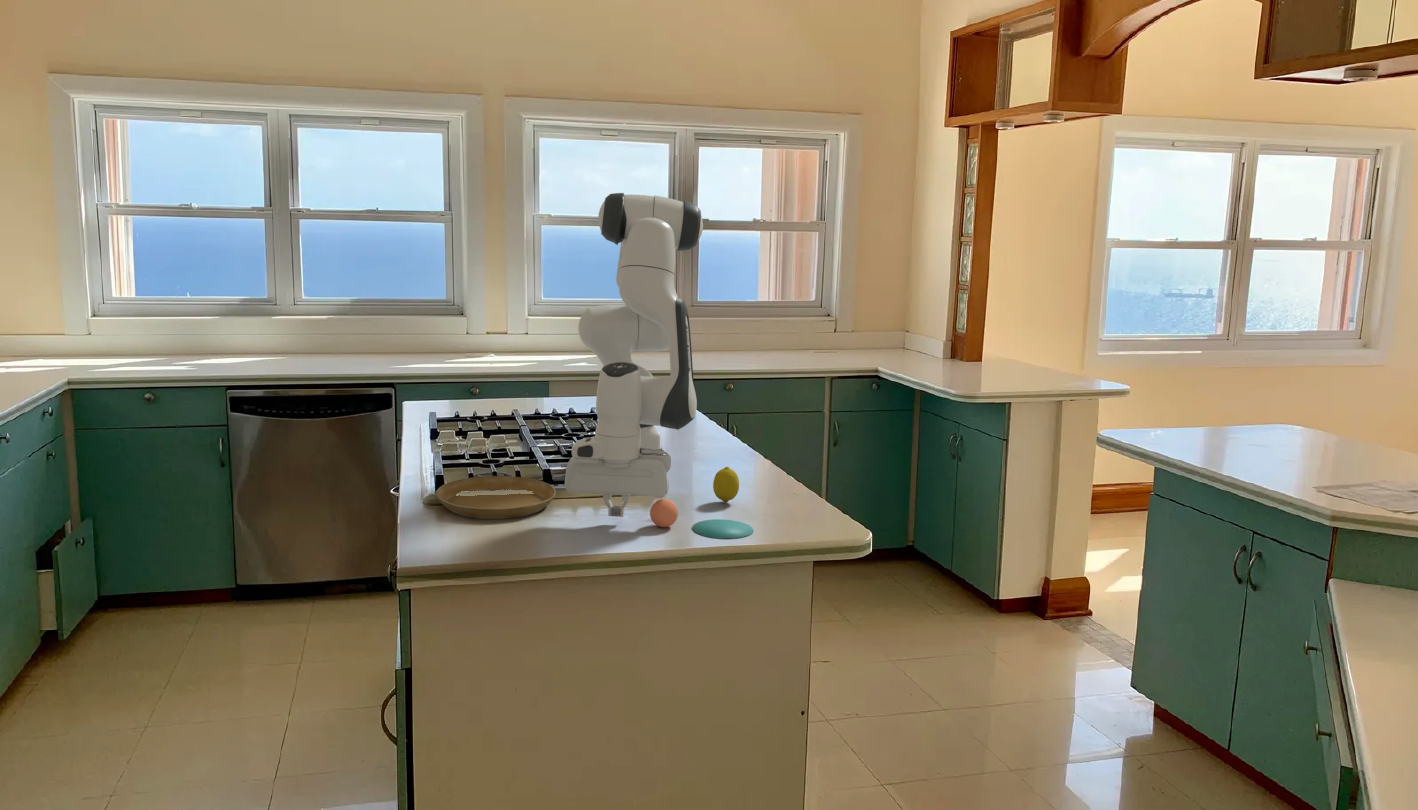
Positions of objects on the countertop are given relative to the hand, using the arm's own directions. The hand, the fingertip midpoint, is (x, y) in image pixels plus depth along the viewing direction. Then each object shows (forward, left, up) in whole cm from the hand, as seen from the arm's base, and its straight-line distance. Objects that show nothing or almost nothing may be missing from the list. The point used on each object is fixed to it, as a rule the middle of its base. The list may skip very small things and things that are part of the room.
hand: (616, 515), depth 201 cm
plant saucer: (-9, -26, -2) cm, 28 cm away
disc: (0, +21, -2) cm, 21 cm away
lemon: (-19, +21, -2) cm, 28 cm away
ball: (0, +9, +1) cm, 9 cm away
